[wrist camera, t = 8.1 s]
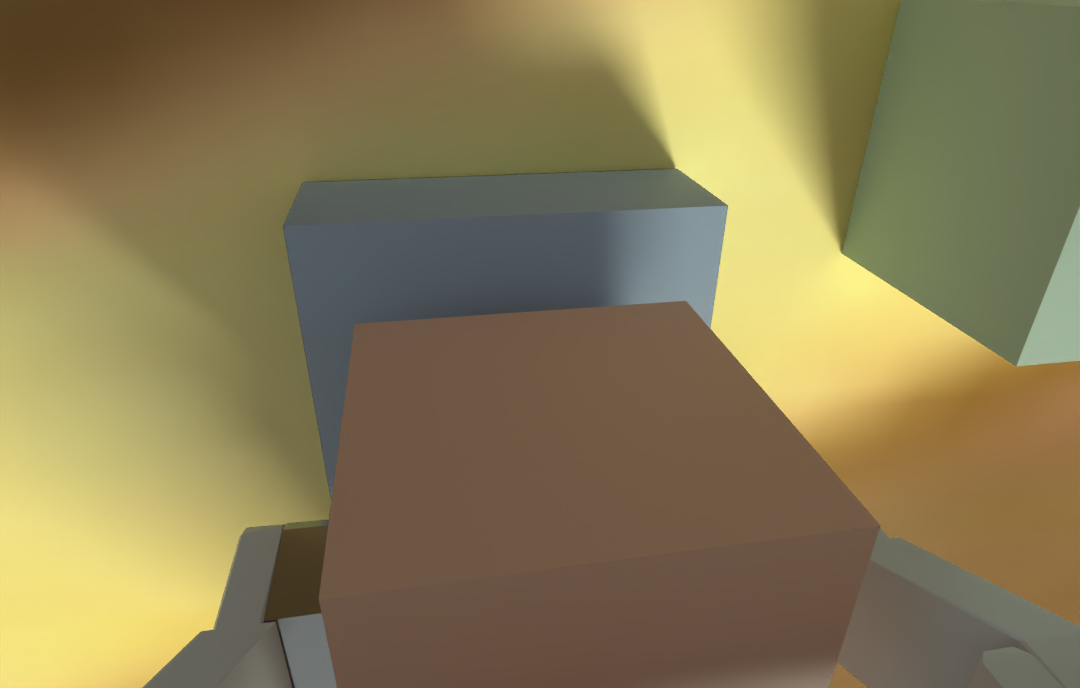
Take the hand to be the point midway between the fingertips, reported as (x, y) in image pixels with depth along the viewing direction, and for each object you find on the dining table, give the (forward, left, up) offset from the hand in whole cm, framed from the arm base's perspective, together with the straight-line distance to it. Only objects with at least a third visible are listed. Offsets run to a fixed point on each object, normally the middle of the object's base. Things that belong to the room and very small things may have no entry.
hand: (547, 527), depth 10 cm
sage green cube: (-10, -4, -6) cm, 12 cm away
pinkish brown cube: (0, 0, -2) cm, 2 cm away
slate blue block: (0, 0, -6) cm, 6 cm away
